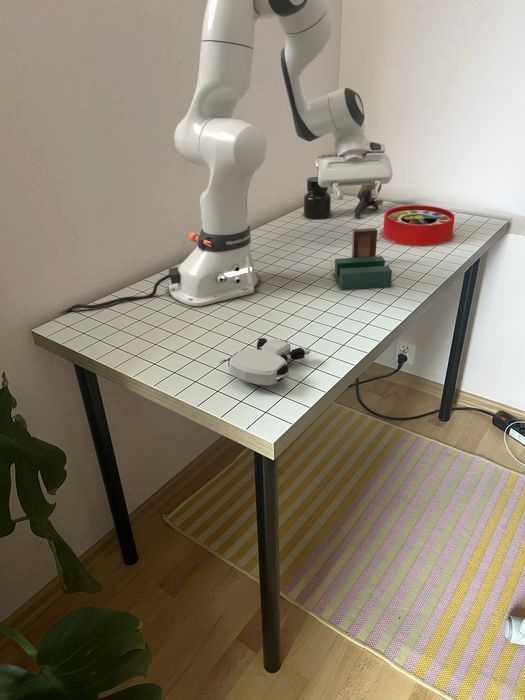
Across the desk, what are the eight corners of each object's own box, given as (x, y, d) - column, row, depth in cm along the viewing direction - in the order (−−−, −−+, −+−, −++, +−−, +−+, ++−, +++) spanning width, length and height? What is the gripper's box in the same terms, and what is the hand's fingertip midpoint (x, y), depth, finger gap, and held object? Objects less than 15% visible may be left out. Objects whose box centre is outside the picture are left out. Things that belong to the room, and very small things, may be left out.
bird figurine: (371, 219, 176) (386, 157, 176) (343, 216, 181) (357, 155, 180) (383, 229, 188) (397, 172, 187) (356, 226, 193) (369, 170, 192)
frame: (351, 261, 149) (352, 229, 144) (373, 260, 149) (375, 227, 144) (352, 264, 147) (354, 231, 142) (375, 263, 147) (377, 230, 143)
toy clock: (379, 206, 171) (444, 204, 170) (378, 224, 174) (442, 222, 173) (391, 226, 154) (463, 224, 153) (389, 246, 157) (460, 244, 156)
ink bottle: (333, 212, 188) (334, 176, 182) (329, 219, 180) (330, 182, 174) (305, 211, 190) (305, 175, 184) (300, 219, 182) (300, 182, 176)
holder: (334, 274, 142) (335, 258, 140) (380, 271, 142) (381, 255, 140) (341, 289, 133) (342, 273, 131) (390, 286, 134) (392, 270, 132)
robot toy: (259, 349, 112) (217, 381, 101) (259, 329, 110) (216, 359, 99) (313, 363, 107) (275, 399, 95) (314, 342, 105) (276, 376, 93)
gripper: (315, 148, 150) (320, 194, 147) (390, 144, 151) (396, 189, 147) (313, 161, 156) (318, 205, 153) (385, 157, 157) (391, 201, 153)
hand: (357, 197), depth 150 cm, fingers open, 8 cm apart
